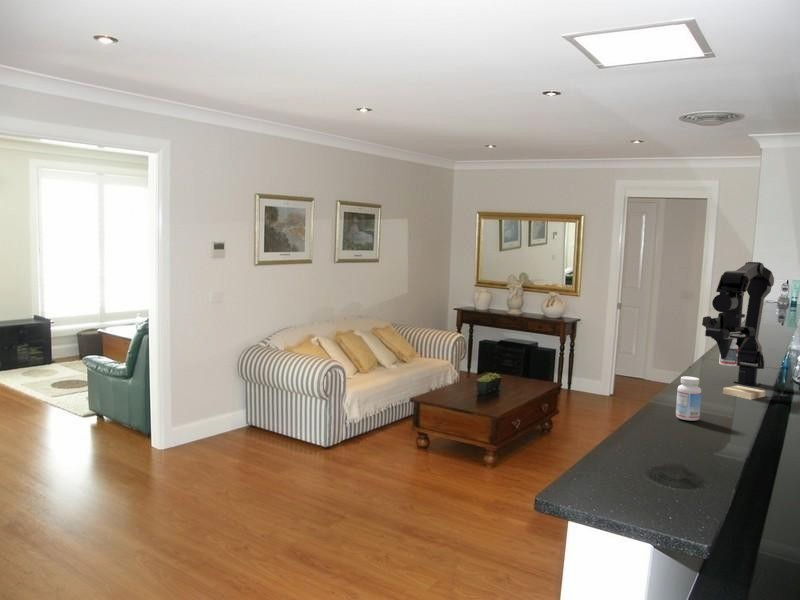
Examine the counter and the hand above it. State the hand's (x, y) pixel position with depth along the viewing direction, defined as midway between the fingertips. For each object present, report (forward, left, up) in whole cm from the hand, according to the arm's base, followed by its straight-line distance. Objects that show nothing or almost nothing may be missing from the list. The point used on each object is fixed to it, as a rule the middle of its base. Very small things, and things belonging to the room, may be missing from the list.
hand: (728, 357), depth 208 cm
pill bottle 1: (+41, +14, -12) cm, 45 cm away
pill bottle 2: (0, 0, -2) cm, 2 cm away
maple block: (-3, +5, -12) cm, 13 cm away
